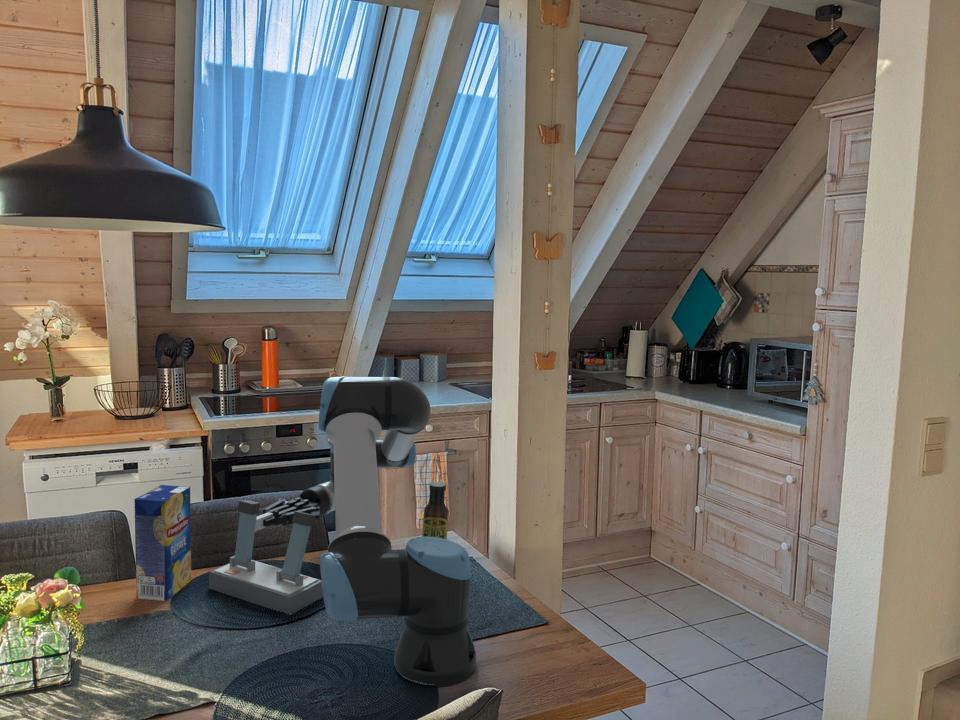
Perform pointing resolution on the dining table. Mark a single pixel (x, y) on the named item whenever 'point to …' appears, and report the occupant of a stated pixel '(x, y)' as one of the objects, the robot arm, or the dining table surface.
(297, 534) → the lever near
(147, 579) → the blue food box
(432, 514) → the sauce bottle
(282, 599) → the switch console
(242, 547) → the lever far
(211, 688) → the dining table surface
